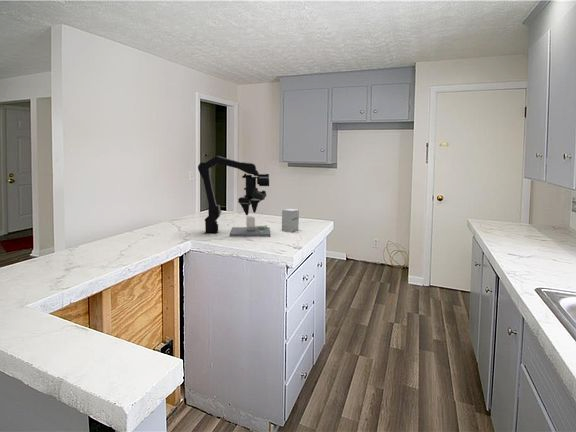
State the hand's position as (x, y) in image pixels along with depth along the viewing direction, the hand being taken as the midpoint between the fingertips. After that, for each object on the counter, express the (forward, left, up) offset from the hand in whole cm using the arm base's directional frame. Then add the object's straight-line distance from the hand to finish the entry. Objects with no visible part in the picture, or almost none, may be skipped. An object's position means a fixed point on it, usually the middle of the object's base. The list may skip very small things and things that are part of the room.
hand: (250, 213), depth 206 cm
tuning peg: (+4, +1, -9) cm, 10 cm away
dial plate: (0, 0, -11) cm, 11 cm away
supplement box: (+23, +7, -11) cm, 26 cm away
